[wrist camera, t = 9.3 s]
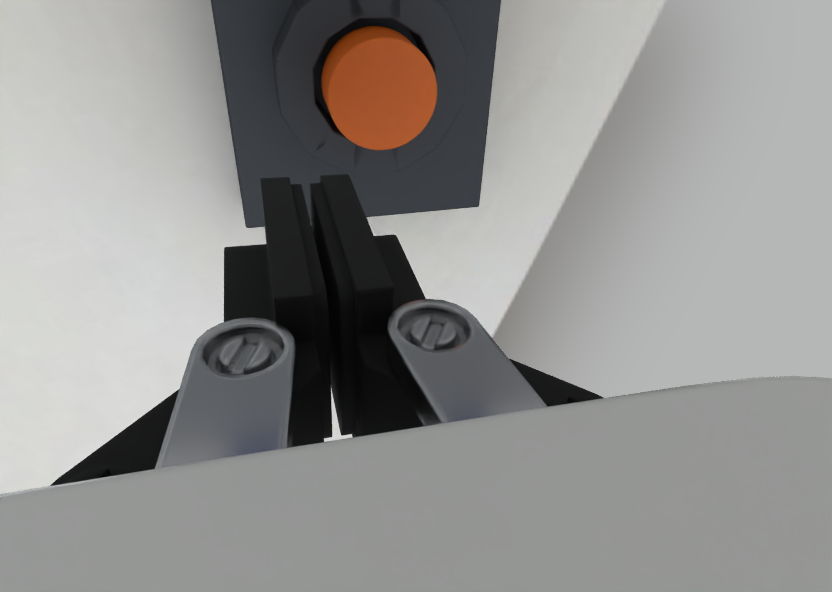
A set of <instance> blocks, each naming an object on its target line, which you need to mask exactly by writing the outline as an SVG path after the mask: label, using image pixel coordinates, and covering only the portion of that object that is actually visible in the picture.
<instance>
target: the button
mask: <svg viewBox="0 0 832 592" xmlns="http://www.w3.org/2000/svg"><path fill="white" fill-rule="evenodd" d="M321 86H322V93H323V97H324V100H325V102H326V105H327V107H328V110H329V112H330V114H331V117H332V119H333V121H334V123H335V125H336V126H337V128H338V129H339V130H340V132H341V133H342V134H343V135H344V136H345V137H346V138H347V139H349V140H350V141H351V142H353V143H355V144H357V145H359V146H361V147H364V148H367V149H373V150H388V149H393V148H397V147H399V146H402V145H404V144H406V143H408V142H410V141H411V140H412V139H414V138H415V137H416V136H417V135H418V134H420V133H421V131H422V130H423V129H424V128H425V127H426V125H427V124H428V122H429V120H430V118H431V116H432V114H433V111H434V109H435V105H436V100H437V82H436V77H435V73H434V71H433V68H432V66H431V64H430V62H429V61H428V59H427V58H426V57H425V55H424V54H423V53H422V52H421V51H420V50H419V49H418V48H417V47H416V46H415V45H414V44H413V43H411V42H410V41H409V40H408V39H407V38H406V37H405V36H403V35H402V34H401V33H399V32H397V31H395V30H393V29H390V28H387V27H382V26H366V27H362V28H358V29H356V30H353V31H351V32H349V33H348V34H346V35H345V36H343V37H342V38H341V39H340V40H339V41H338V42H337V43H336V44H335V45H334V46H333V47H332V49H331V50H330V52H329V54H328V55H327V57H326V60H325V62H324V66H323V69H322V76H321Z"/></svg>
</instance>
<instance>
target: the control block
mask: <svg viewBox="0 0 832 592" xmlns="http://www.w3.org/2000/svg"><path fill="white" fill-rule="evenodd" d="M500 3H501V0H211V4H212V11H213V17H214V24H215V30H216V36H217V43H218V49H219V56H220V62H221V69H222V75H223V82H224V88H225V95H226V101H227V108H228V114H229V121H230V127H231V134H232V140H233V147H234V153H235V160H236V166H237V173H238V179H239V185H240V192H241V198H242V205H243V211H244V218H245V224H246V227H247V228H254V227H265V222H264V212H263V202H262V192H261V181H260V178H277V177H289V178H290V183H291V184H301V185H302V189H303V193H304V197H305V202H306V206H307V210H308V214H309V218H310V222H311V209H310V183H320V176H321V175H339V174H349V176H350V178H351V181H352V183H353V186H354V188H355V191H356V193H357V196H358V198H359V201H360V203H361V206H362V208H363V211H364V213H365V216H366V217H372V216H383V215H394V214H405V213H415V212H426V211H437V210H448V209H458V208H469V207H478V206H479V201H480V191H481V182H482V172H483V163H484V154H485V144H486V135H487V125H488V116H489V106H490V97H491V88H492V78H493V69H494V59H495V50H496V41H497V31H498V22H499V12H500ZM366 26H382V27H387V28H390V29H393V30H395V31H397V32H399V33H401V34H402V35H403V36H405V37H406V38H407V39H408V40H409V41H410V42H411V43H413V44H414V45H415V46H416V47H417V48H418V49H419V50H420V51H421V52H422V53H423V54H424V55H425V57H426V58H427V59H428V61H429V62H430V64H431V66H432V68H433V71H434V73H435V77H436V82H437V100H436V105H435V109H434V111H433V114H432V116H431V118H430V120H429V122H428V124H427V125H426V127H425V128H424V129H423V130H422V131H421V133H420V134H418V135H417V136H416V137H415V138H414V139H412V140H411V141H410V142H408V143H406V144H404V145H402V146H399V147H397V148H393V149H388V150H373V149H367V148H364V147H361V146H359V145H357V144H355V143H353V142H351V141H350V140H349V139H347V138H346V137H345V136H344V135H343V134H342V133H341V132H340V130H339V129H338V128H337V126H336V125H335V123H334V121H333V119H332V117H331V114H330V112H329V110H328V107H327V105H326V102H325V100H324V97H323V93H322V86H321V76H322V69H323V66H324V62H325V60H326V57H327V55H328V54H329V52H330V50H331V49H332V47H333V46H334V45H335V44H336V43H337V42H338V41H339V40H340V39H341V38H342V37H343V36H345V35H346V34H348V33H349V32H351V31H353V30H356V29H358V28H362V27H366Z"/></svg>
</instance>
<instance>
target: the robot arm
mask: <svg viewBox="0 0 832 592" xmlns="http://www.w3.org/2000/svg"><path fill="white" fill-rule="evenodd" d="M260 181H261V192H262V202H263V212H264V222H265V232H266V242H267V244H263V245H250V246H236V247H225V248H224V323H220V324H218V325H216V326H215V327H213V328H211V329H209V330H207V331H206V332H205V333H204V334H203V335H202V336H200V337H199V338H198V339H197V341H196V343H195V344H194V346H193V348H192V350H191V353H190V357H189V360H188V363H187V366H186V370H185V373H184V376H183V379H182V383H181V386H180V389H179V390H177V391H176V392H175V393H173V394H172V395H171V396H169V397H168V398H166V399H165V400H164V401H162V402H161V403H160V404H158V405H157V406H156V407H154V408H153V409H152V410H150V411H149V412H148V413H146V414H145V415H143V416H142V417H141V418H139V419H138V420H137V421H135V422H134V423H133V424H131V425H130V426H129V427H127V428H126V429H125V430H123V431H122V432H120V433H119V434H118V435H116V436H115V437H114V438H112V439H111V440H110V441H108V442H107V443H106V444H104V445H103V446H102V447H100V448H99V449H97V450H96V451H95V452H93V453H92V454H91V455H89V456H88V457H87V458H85V459H84V460H83V461H81V462H80V463H79V464H77V465H76V466H74V467H73V468H72V469H70V470H69V471H68V472H66V473H65V474H64V475H62V476H61V477H60V478H58V479H57V480H56V481H55V482H54V483H53V484H52V485H50V486H48V487H42V488H36V489H30V490H23V491H17V492H11V493H5V494H0V592H832V379H831V378H820V377H818V378H817V377H800V376H784V377H759V378H747V379H738V380H731V381H721V382H713V383H704V384H696V385H688V386H681V387H675V388H668V389H662V390H655V391H648V392H642V393H635V394H629V395H622V396H616V397H609V398H603V397H601V396H599V395H597V394H595V393H592V392H590V391H587V390H585V389H583V388H580V387H577V386H575V385H573V384H570V383H568V382H565V381H563V380H560V379H558V378H556V377H553V376H551V375H548V374H545V373H543V372H541V371H538V370H536V369H533V368H531V367H528V366H526V365H523V364H521V363H519V362H516V361H514V360H511V359H509V358H508V357H507V356H506V355H505V354H504V352H503V351H502V350H501V349H500V347H499V346H498V345H497V344H496V343H495V341H494V340H493V339H492V338H491V336H490V335H489V334H488V333H487V331H486V330H485V329H484V328H483V326H482V325H481V324H480V323H479V322H478V320H477V319H476V318H475V317H474V316H473V315H472V314H471V313H470V312H469V311H468V310H466V309H464V308H462V307H460V306H459V305H457V304H454V303H450V302H447V301H443V300H434V299H425V296H424V294H423V292H422V290H421V288H420V286H419V283H418V281H417V279H416V277H415V275H414V273H413V270H412V268H411V266H410V264H409V262H408V260H407V258H406V255H405V253H404V251H403V249H402V247H401V245H400V242H399V240H398V238H397V237H396V235H384V236H373V233H372V231H371V228H370V226H369V223H368V221H367V218H366V216H365V213H364V211H363V208H362V206H361V203H360V201H359V198H358V196H357V193H356V191H355V188H354V186H353V183H352V181H351V178H350V176H349V174H339V175H321V176H320V183H310V209H311V223H310V218H309V214H308V210H307V206H306V202H305V197H304V193H303V189H302V185H301V184H291V183H290V178H289V177H277V178H260ZM331 388H332V393H333V398H334V403H335V408H336V413H337V418H338V423H339V428H340V432H341V435H348V434H352V436H353V438H347V439H341V440H335V441H328V442H324V438H329V437H332V411H331Z"/></svg>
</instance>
